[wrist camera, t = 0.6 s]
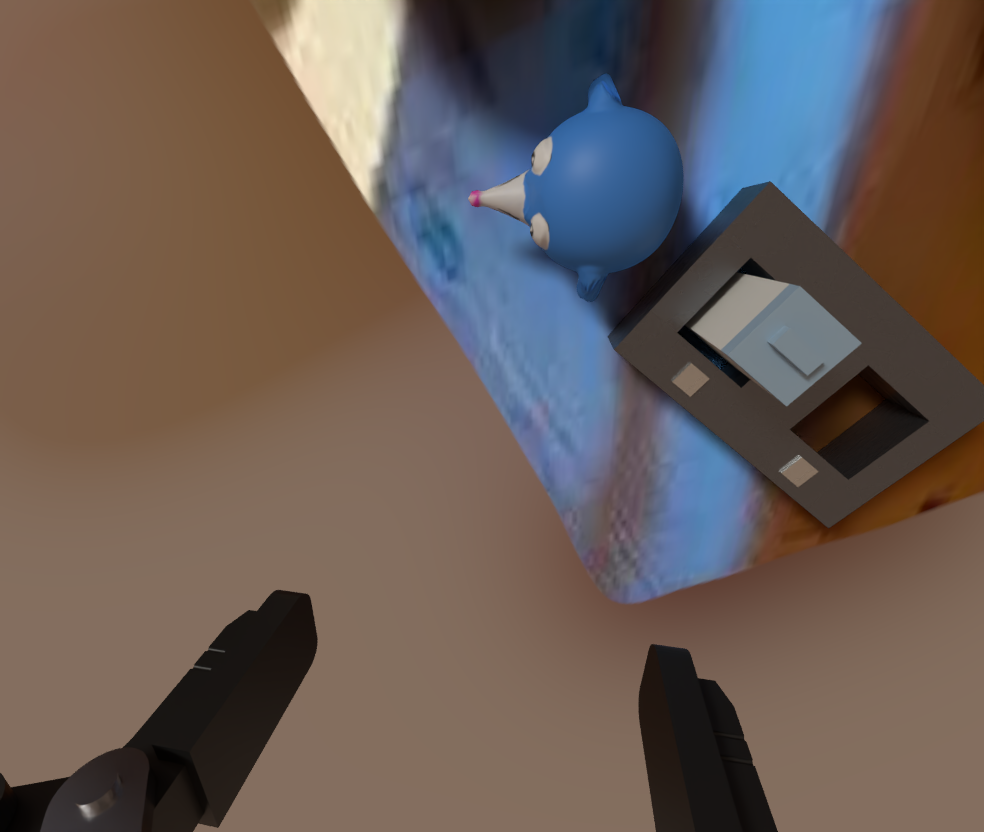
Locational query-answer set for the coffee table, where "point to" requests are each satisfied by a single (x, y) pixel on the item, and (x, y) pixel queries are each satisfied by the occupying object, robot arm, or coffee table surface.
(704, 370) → the panel
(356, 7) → the coffee table surface
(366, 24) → the coffee table surface
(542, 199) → the blue mole toy
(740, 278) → the plug
